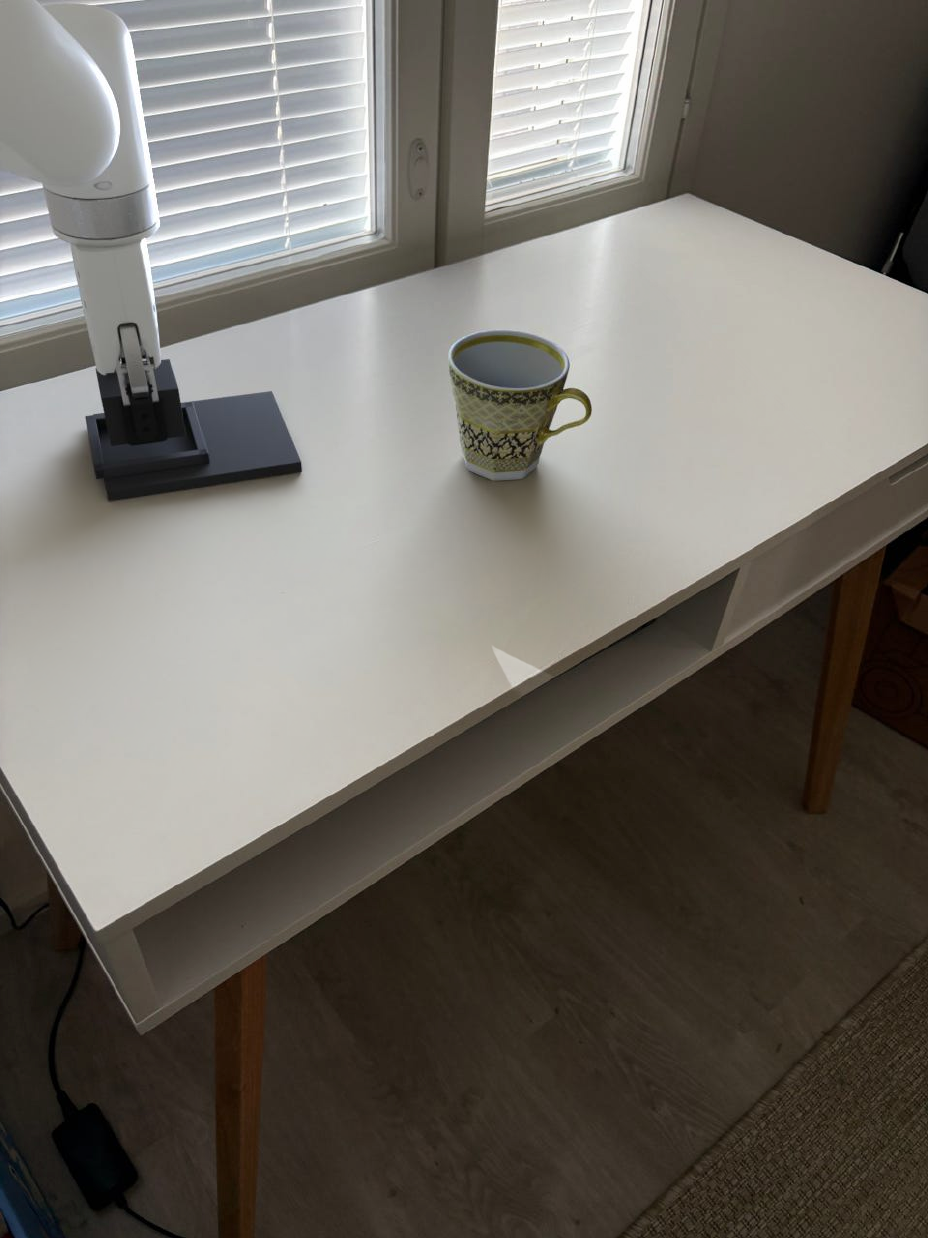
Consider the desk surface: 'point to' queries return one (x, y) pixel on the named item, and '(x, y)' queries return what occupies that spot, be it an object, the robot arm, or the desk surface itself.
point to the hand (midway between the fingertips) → (143, 420)
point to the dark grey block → (164, 388)
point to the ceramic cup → (508, 399)
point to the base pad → (199, 449)
